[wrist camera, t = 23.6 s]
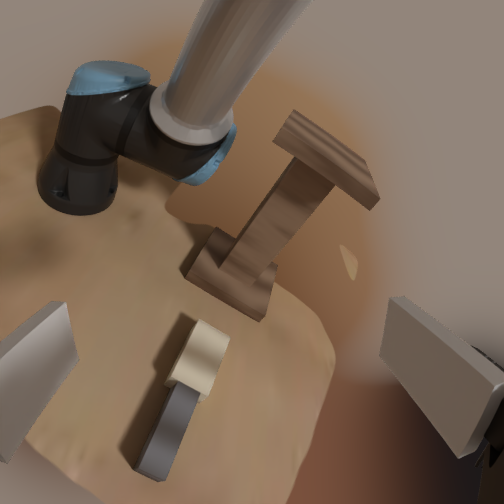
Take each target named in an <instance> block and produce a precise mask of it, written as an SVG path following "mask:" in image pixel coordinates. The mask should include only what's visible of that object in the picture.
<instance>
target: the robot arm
mask: <svg viewBox="0 0 504 504" xmlns="http://www.w3.org/2000/svg"><path fill="white" fill-rule="evenodd" d="M312 1H313V0H204V2H203V4H202V6H201V8H200V10H199V12H198V14H197V16H196V18H195V21H194V22H193V25H192V27H191V29H190V31H189V33H188V36H187V38H186V40H185V43H184V45H183V47H182V50H181V52H180V54H179V57H178V59H177V62H176V64H175V67H174V69H173V72H172V74H171V77H170V79H169V80H168V81H166V82H164V83H162V84H161V85H160V86H159V87H155V86H152V85H150V84H149V82H150V73H149V72H148V71H147V70H144V69H143V68H141V67H139V66H136V65H132V64H128V63H124V62H117V61H92V62H88V63H85V64H83V65H81V66H80V67H78V68H77V70H76V71H75V73H74V75H73V77H72V80H71V82H70V85H69V88H68V89H67V91H66V93H67V94H66V97H65V101H64V105H63V109H62V112H61V116H60V121H59V125H58V129H57V134H56V138H55V143H54V146H53V148H52V150H51V151H50V153H49V155H48V157H47V159H46V160H45V162H44V164H43V166H42V168H41V170H40V174H39V180H38V190H39V193H40V195H41V197H42V199H43V200H44V201H45V202H46V203H47V204H48V205H49V206H51V207H52V208H54V209H56V210H58V211H60V212H63V213H66V214H71V215H80V216H83V215H92V214H96V213H99V212H101V211H103V210H105V209H106V208H108V207H109V206H110V205H111V204H112V202H113V200H114V198H115V194H116V191H117V187H118V173H117V158H118V155H122V156H124V157H126V158H129V159H131V160H133V161H136V162H138V163H140V164H142V165H145V166H147V167H149V168H152V169H154V170H156V171H158V172H161V173H163V174H165V175H167V176H169V177H171V178H172V179H174V180H175V181H178V182H179V181H180V182H184V183H186V184H189V185H193V186H197V185H200V184H202V183H204V182H205V181H207V180H208V179H209V178H210V177H211V176H212V175H213V173H214V172H215V171H216V170H217V168H218V166H219V163H221V162H222V161H223V160H224V158H225V156H226V155H227V153H228V152H229V150H230V148H231V146H232V143H233V141H234V139H235V136H236V132H237V128H236V126H235V124H234V123H233V110H232V106H233V104H234V103H235V101H236V100H237V99H238V97H239V96H240V94H241V93H242V91H243V90H244V89H245V87H246V86H247V84H248V83H249V82H250V80H251V79H252V77H253V76H254V75H255V73H256V72H257V71H258V69H259V68H260V66H261V65H262V64H263V62H264V61H265V60H266V58H267V57H268V56H269V55H270V53H271V52H272V50H273V49H274V48H275V47H276V45H277V44H278V43H279V42H280V40H281V39H282V38H283V36H284V35H285V34H286V33H287V31H288V30H289V29H290V28H291V26H292V25H293V24H294V23H295V22H296V20H297V19H298V18H299V17H300V15H301V14H302V13H303V12H304V10H306V8H307V7H308V6H309V5H310V4H311V2H312ZM379 356H380V358H381V359H382V360H383V361H384V363H386V365H387V366H388V368H389V369H390V370H391V371H392V372H393V374H394V375H395V376H396V378H397V379H398V380H399V382H400V383H401V384H402V385H403V387H404V388H405V389H406V390H407V392H408V393H409V394H410V396H411V397H412V398H413V399H414V401H415V402H416V403H417V405H418V406H419V407H420V409H421V410H422V411H423V412H424V414H425V415H426V416H427V418H428V419H429V420H430V422H431V423H432V424H433V425H434V427H435V428H436V429H437V431H438V432H439V434H440V435H441V436H442V437H443V439H444V440H445V441H446V442H447V444H448V445H449V447H450V448H451V449H452V451H453V452H454V454H455V455H456V456H457V458H461V457H463V456H465V455H467V454H469V453H472V452H474V451H476V449H477V448H478V446H479V444H480V442H481V441H482V439H483V437H485V438H486V439H487V440H488V441H489V443H488V444H487V446H486V448H485V450H484V451H483V453H482V454H481V456H480V457H479V459H478V461H477V462H476V465H475V467H478V466H479V464H480V463H481V461H483V460H484V461H483V466H482V468H483V469H482V477H481V483H480V490H479V495H478V501H477V504H504V369H503V368H502V367H501V366H499V365H498V364H497V363H494V361H493V360H492V359H491V358H489V357H488V358H487V355H486V354H484V353H483V352H482V351H480V350H479V349H478V348H475V347H473V346H471V345H469V344H467V343H466V342H465V341H464V340H462V339H461V338H460V337H458V336H457V335H456V334H455V333H453V332H452V331H451V330H449V329H448V328H447V327H445V326H444V325H443V324H441V323H440V322H439V321H437V320H436V319H435V318H433V317H432V316H430V315H429V314H428V313H426V312H425V311H424V310H423V309H421V308H420V307H418V306H417V305H416V304H414V303H413V302H412V301H410V300H409V299H407V298H406V297H405V296H403V297H391V298H389V302H388V310H387V315H386V321H385V328H384V333H383V339H382V344H381V349H380V354H379ZM78 361H79V357H78V354H77V350H76V346H75V342H74V338H73V333H72V329H71V325H70V320H69V315H68V310H67V305H66V302H56V301H51V302H50V303H48V304H47V305H46V306H45V307H43V308H42V309H41V310H39V311H38V312H37V313H36V314H34V315H33V316H32V317H30V318H29V319H28V320H27V321H25V322H24V323H23V324H22V325H20V326H19V327H18V328H17V329H15V330H14V331H13V332H12V333H11V334H9V335H8V336H7V337H6V338H5V339H3V340H2V341H1V342H0V461H1V462H4V463H6V464H8V463H9V461H10V460H11V458H12V456H13V455H14V453H15V451H16V450H17V448H18V447H19V445H20V444H21V442H22V441H23V439H24V438H25V436H26V435H27V433H28V432H29V430H30V429H31V427H32V426H33V424H34V423H35V421H36V420H37V418H38V417H39V415H40V414H41V412H42V411H43V409H44V408H45V407H46V405H47V404H48V402H49V401H50V399H51V398H52V397H53V395H54V394H55V392H56V391H57V390H58V388H59V387H60V385H61V384H62V383H63V381H64V380H65V379H66V377H67V376H68V374H69V373H70V372H71V370H72V369H73V368H74V366H75V365H76V364H77V362H78Z"/></svg>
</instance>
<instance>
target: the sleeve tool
mask: <svg viewBox="0 0 504 504" xmlns="http://www.w3.org/2000/svg"><path fill="white" fill-rule="evenodd" d="M229 340H230V336H228V335H226V334H224V333H223V332H221V331H219V330H218V329H216V328H214V327H213V326H211V325H209V324H207V323H206V322H204V321H202V320H201V319H199V320H198V321H197V322H196V324H195V325H194V326H193V327H192V329H191V331H190V333H189V335H188V337H187V339H186V341H185V343H184V345H183V347H182V349H181V351H180V353H179V355H178V357H177V359H176V361H175V363H174V365H173V367H172V369H171V371H170V373H169V375H168V377H167V379H166V381H165V383H164V385H165V386H167V387H169V388H170V391H169V393H168V395H167V398H166V400H165V402H164V404H163V406H162V408H161V410H160V412H159V415H158V417H157V419H156V421H155V423H154V425H153V428H152V430H151V432H150V434H149V436H148V438H147V440H146V443H145V445H144V447H143V449H142V451H141V454H140V456H139V458H138V460H137V462H136V464H135V467H134V469H133V470H134V471H136V472H138V473H140V474H142V475H144V476H146V477H148V478H150V479H153V480H155V481H157V482H161V481H166V478H167V476H168V473H169V471H170V468H171V466H172V463H173V461H174V458H175V456H176V453H177V451H178V448H179V446H180V443H181V441H182V438H183V436H184V433H185V431H186V428H187V426H188V423H189V421H190V419H191V416H192V414H193V411H194V409H195V406H196V404H197V403H200V402H202V401H203V400H204V399H206V398H207V397H208V396H209V393H210V390H211V388H212V385H213V383H214V380H215V377H216V375H217V372H218V369H219V367H220V364H221V361H222V359H223V356H224V353H225V351H226V348H227V345H228V343H229Z"/></svg>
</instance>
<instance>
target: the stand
mask: <svg viewBox="0 0 504 504" xmlns="http://www.w3.org/2000/svg"><path fill="white" fill-rule="evenodd" d="M273 142H274V143H275V144H277V145H278V146H280V147H281V148H283V149H284V150H286V151H287V152H289V153H290V154H292V155H294V158H293V159H292V161H291V162H290V164H289V165H288V166H287V168H286V169H285V170H284V172H283V173H282V174H281V176H280V178H279V179H278V180H277V181H276V183H275V184H274V186H273V187H272V189H271V190H270V191H269V193H268V194H267V195H266V197H265V198H264V200H263V201H262V202H261V204H260V205H259V207H258V208H257V210H256V211H255V212H254V214H253V215H252V217H251V218H250V219H249V221H248V222H247V224H246V225H245V226H244V228H243V229H242V231H241V232H240V233H239V235H238V236H237V238H236V239H235V238H233V237H232V236H230V235H229V234H227V233H225V232H224V231H222V230H221V229H219V228H217V227H216V228H215V229H214V231H213V232H212V234H211V236H210V237H209V239H208V240H207V242H206V244H205V245H204V247H203V249H202V250H201V252H200V254H199V255H198V257H197V259H196V260H195V262H194V264H193V265H192V267H191V269H190V270H189V272H188V274H187V275H186V277H185V279H186V280H188V281H190V282H191V283H193V284H194V285H196V286H198V287H199V288H201V289H203V290H204V291H206V292H208V293H209V294H211V295H213V296H214V297H216V298H218V299H219V300H221V301H223V302H225V303H226V304H228V305H230V306H231V307H233V308H235V309H237V310H238V311H240V312H242V313H243V314H245V315H247V316H249V317H250V318H252V319H254V320H256V321H258V322H260V321H261V320H262V319H263V318H264V317H265V315H266V311H267V307H268V303H269V299H270V295H271V291H272V287H273V283H274V279H275V275H276V271H277V267H278V265H277V264H275V263H273V262H272V261H273V259H274V258H275V257H276V256H277V255H278V254H279V252H280V251H281V250H282V249H283V248H284V246H285V245H286V244H287V243H288V241H289V240H290V239H291V238H292V237H293V236H294V235H295V233H296V232H297V231H298V229H300V227H301V226H302V225H303V224H304V223H305V221H306V220H307V219H308V218H309V216H310V215H311V214H312V213H313V212H314V210H315V209H316V208H317V207H318V206H319V204H320V203H321V202H322V201H323V199H324V198H325V197H326V196H327V195H328V194H329V192H330V191H331V190H332V189H333V187H334V186H335V185H336V186H337V187H339V188H340V189H342V190H343V191H344V192H346V193H347V194H348V195H350V196H351V197H352V198H354V199H355V200H356V201H358V202H359V203H360V204H362V205H363V206H364V207H365V208H367V209H368V210H369V211H370V210H371V209H372V208H373V207H374V206H375V204H376V203H377V202H378V201H379V200H380V197H379V194H378V192H377V189H376V187H375V184H374V181H373V179H372V176H371V174H370V171H369V169H368V167H367V164H366V162H365V160H364V159H363V158H361V157H360V156H359V155H358V154H356V153H355V152H354V151H352V150H351V149H350V148H348V147H347V146H346V145H344V144H343V143H341V142H340V141H339V140H338V139H336V138H335V137H334V136H332V135H331V134H329V133H328V132H326V131H325V130H324V129H322V128H321V127H319V126H318V125H317V124H315V123H314V122H312V121H311V120H309V119H308V118H306V117H305V116H303V115H302V114H300V113H299V112H297V111H296V110H293V111H292V113H291V114H290V116H289V117H288V118H287V120H286V121H285V123H284V125H283V126H282V128H281V129H280V131H279V132H278V134H277V135H276V137H275V139H274V140H273Z"/></svg>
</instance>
